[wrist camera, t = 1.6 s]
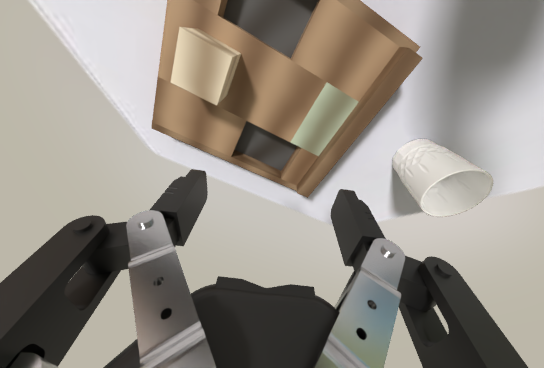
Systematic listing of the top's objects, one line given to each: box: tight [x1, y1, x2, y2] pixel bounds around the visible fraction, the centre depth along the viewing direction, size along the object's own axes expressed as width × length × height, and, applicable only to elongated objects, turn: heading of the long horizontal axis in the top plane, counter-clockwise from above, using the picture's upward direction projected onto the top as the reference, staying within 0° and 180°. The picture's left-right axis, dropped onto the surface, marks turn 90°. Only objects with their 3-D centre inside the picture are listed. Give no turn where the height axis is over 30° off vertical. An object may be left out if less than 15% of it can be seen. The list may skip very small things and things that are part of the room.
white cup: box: [392, 139, 493, 217], centre depth 29 cm, size 8×8×10 cm
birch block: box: [171, 27, 241, 105], centre depth 21 cm, size 5×5×5 cm
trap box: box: [152, 0, 422, 198], centre depth 25 cm, size 26×24×5 cm
